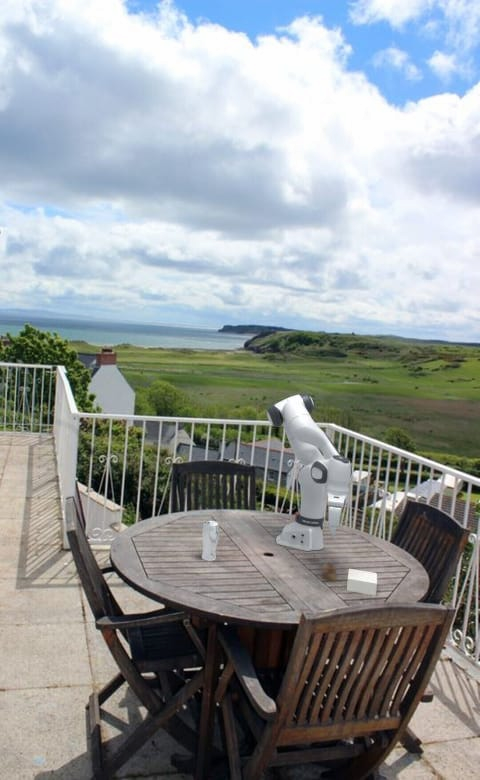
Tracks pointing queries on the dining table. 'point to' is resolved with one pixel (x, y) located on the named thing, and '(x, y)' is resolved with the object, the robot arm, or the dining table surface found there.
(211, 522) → the white cylinder
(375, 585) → the base block
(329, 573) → the walnut cube
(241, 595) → the dining table surface
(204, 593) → the dining table surface
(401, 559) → the dining table surface
